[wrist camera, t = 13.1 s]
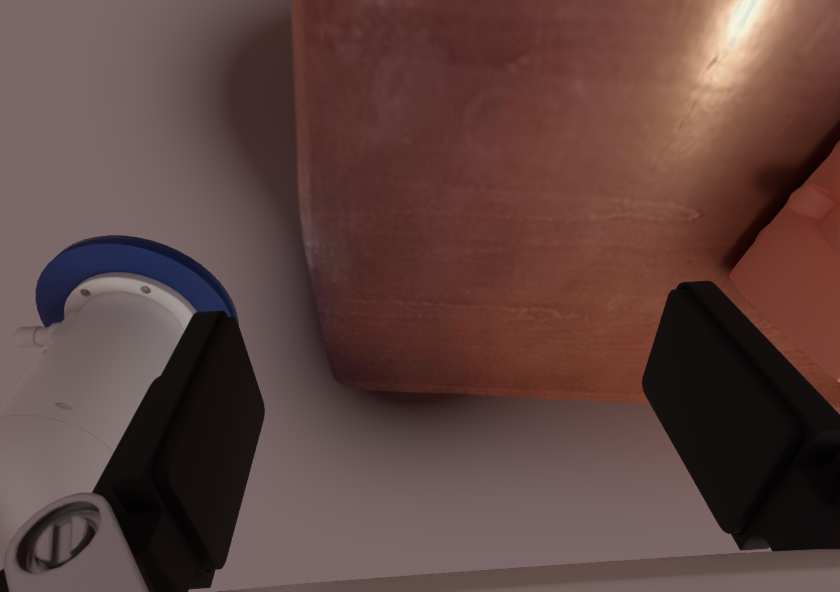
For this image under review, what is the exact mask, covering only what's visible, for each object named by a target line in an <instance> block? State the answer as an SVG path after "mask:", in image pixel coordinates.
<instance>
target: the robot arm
mask: <svg viewBox="0 0 840 592" xmlns="http://www.w3.org/2000/svg"><path fill="white" fill-rule="evenodd" d="M64 318H65V319H64V320H63V321H62V322H59V323H53V324H51V325H50V326H49V327H42V326H36V327H21V328H18V329H17V330H16V331H15V334H14V342H15V344H16V345H17V346H18V347H42V346H45V345H49V346H50V347H49V348H48V349H47V350H46V351H44V353H43V356H42V357H41V358H40V359H39V360H38V361H37V363H36V364H35V365H34V366H33V367H32V369H31V370H30V371H29V372H28V373H27V375H26V376H25V377H24V378H23V379H22V381H21V382H20V383H19V384H18V385H17V386H16V388H15V389H14V390H13V391H12V392H11V393H10V395H9V396H8V397H7V398H6V400H4V402H3V403H2V404H1V405H0V592H188V590H189V589H199V588H210V587H211V584H212V580H213V576H214V573H215V569H221V568H222V567H223V566H224V564H225V562H226V559H227V555H228V552H229V547H230V544H231V540H232V537H233V533H234V529H235V525H236V522H237V518H238V514H239V510H240V507H241V503H242V499H243V495H244V492H245V488H246V484H247V480H248V477H249V473H250V469H251V465H252V462H253V458H254V454H255V450H256V446H257V442H258V439H259V435H260V432H261V428H262V424H263V420H264V413H265V410H264V409H265V408H264V402H263V399H262V396H261V393H260V390H259V387H258V384H257V381H256V378H255V374H254V372H253V368H252V365H251V362H250V359H249V356H248V353H247V350H246V347H245V344H244V341H243V338H242V335H241V331H240V328H239V325H238V322H237V320H236V318H235V317H228V315H227V313H226V312H225V311H223V310H222V311H205V312H197V311H196V310H195V308H194V307H193V306H192V305H191V304H190V302H189V301H188V300H187V299H185V298H184V297H183V296H182V295H181V294H180V293H178V292H177V291H175V290H174V289H172V288H171V287H169V286H168V285H166V284H163V283H161V282H159V281H157V280H155V279H152V278H149V277H146V276H143V275H138V274H133V273H127V272H110V273H102V274H98V275H95V276H92V277H89V278H88V279H86V280H84V281H83V282H81V283H80V284H79V285H78V286H77V287H76V288H75V289H74V290H73V291H72V292H71V294H70V295H69V297H68V298H67V300H66V303H65V306H64ZM642 386H643V391H644V393H645V396H646V397H647V399H648V401H649V403H650V404H651V406H652V408H653V410H654V411H655V413H656V415H657V417H658V419H659V420H660V422H661V424H662V426H663V427H664V429H665V431H666V433H667V434H668V436H669V438H670V440H671V441H672V443H673V445H674V447H675V449H676V450H677V452H678V454H679V456H680V457H681V459H682V461H683V463H684V464H685V466H686V468H687V470H688V472H689V473H690V475H691V477H692V478H693V480H694V482H695V484H696V486H697V487H698V489H699V491H700V493H701V495H702V496H703V498H704V500H705V501H706V503H707V505H708V507H709V509H710V510H711V512H712V514H713V516H714V518H715V519H716V521H717V523H718V524H719V526H720V527H721V529H722V530H723V531H724V532H726V533H728V534H731V535H732V536H733V538H734V540H735V542H736V543H737V545H738V547H739V549H740V550H753V549H768V548H769V547H770V548H771V550H772V552H751V553H731V554H716V555H702V556H686V557H670V558H656V559H640V560H624V561H610V562H595V563H580V564H565V565H551V566H537V567H522V568H508V569H494V570H480V571H467V572H452V573H438V574H425V575H412V576H400V577H385V578H372V579H359V580H346V581H333V582H319V583H306V584H294V585H283V586H272V587H262V588H252V589H241V590H229V591H219V592H840V414H839V413H838V412H837V411H836V410H835V409H834V408H833V407H832V406H831V405H830V404H829V403H828V402H827V401H826V400H825V399H824V398H823V397H822V396H821V395H820V394H819V392H818V391H817V390H816V389H815V388H814V387H813V386H812V385H811V384H810V383H809V382H808V381H807V380H806V379H805V378H804V377H803V376H802V375H801V374H800V373H799V372H798V371H797V369H796V368H795V367H794V366H793V365H792V364H791V363H790V362H789V361H788V360H787V359H786V358H785V357H784V356H783V355H782V354H781V353H780V352H779V351H778V350H777V349H776V347H775V346H774V345H773V344H772V343H771V342H770V341H769V340H768V339H767V338H766V337H765V336H764V335H763V334H762V333H761V332H760V331H759V330H758V329H757V328H756V327H755V326H754V324H753V323H752V322H751V321H750V320H749V319H748V318H747V317H746V316H745V315H744V314H743V313H742V312H741V311H740V310H739V309H738V308H737V307H736V306H735V305H734V304H733V303H732V301H731V300H730V299H729V298H728V297H727V296H726V295H725V294H724V293H723V292H722V291H721V290H720V289H719V288H718V287H717V286H716V285H715V284H714V283H713V282H711V281H696V282H683V283H680V284H679V285H678V286H677V288H676V289H674V290H671V292H670V293H669V295H668V298H667V301H666V304H665V308H664V311H663V314H662V317H661V320H660V324H659V327H658V330H657V333H656V336H655V340H654V343H653V346H652V349H651V352H650V356H649V359H648V362H647V365H646V369H645V372H644V375H643V379H642Z"/></svg>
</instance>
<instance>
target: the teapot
mask: <svg viewBox="0 0 840 592" xmlns="http://www.w3.org/2000/svg"><path fill="white" fill-rule="evenodd" d="M729 278H730V279H731V281H732V282H733V283H734V285H735V286H736V288H737V289H738V290H739V292H740V293H741V294H742V295H743V296H744V297H745V298H746V299H747V301H748V302H749V303H750V304H751V305H752V306H753V307H754V308H755V309H756V310H758V311H759V312H760V313H761V314H762V315H763V316H764V317H765V318H766V319H767V320H768V321H769V322H770V323H771V324H772V325H773V326H774V327H775V328H776V329H778V330H779V331H780V332H781V333H782V334H783V335H784V336H785V337H786V338H787V339H789V340H790V341H791V342H792V343H793V344H794V345H795V346H797V347H798V348H799V349H800V350H801V351H802V352H803V353H805V354H806V355H807V356H808V357H809V358H810V359H812V360H813V361H814V362H815V363H816V364H817V365H819V366H820V367H821V368H822V369H823V370H825V371H826V372H827V373H828V374H829V375H831V376H832V377H833V378H834V379H835V380H837V381H838V382H840V140H839V141H838V142H837V144H836V145H835V146H834V148H833V150H832V152H831V154H830V155H829V156H828V157H827V158H826V159H825V161H824V162H823V163H822V164H821V165H820V166H819V167H818V168H817V169H816V170H815V172H814V173H813V174H812V175H811V176H810V177H809V178H808V179H807V181H806V182H805V183H804V184H803V185H802V186H801V187H800V188H798V189H797V190H795V191H794V192H793V193H792V194H791V195H790V197H789V199H788V202H787V204H786V205H785V206H784V207H783V208H782V209H781V211H780V212H779V213H778V214H777V215H776V217H775V218H774V219H773V220H772V221H771V223H770V224H769V225H767V226H766V227H764V228H763V229H762V230H761V231H760V233H759V234H758V235H757V237H756V240H755V242H754V243H753V244H752V246H751V247H750V248H749V249H748V251H747V252H746V253H745V254H744V256H743V257H742V258H741V259H740V261H739V262H738V263H737V265H736V266H735V267H734V269H733V270H732V271H731V273H730V275H729Z"/></svg>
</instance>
